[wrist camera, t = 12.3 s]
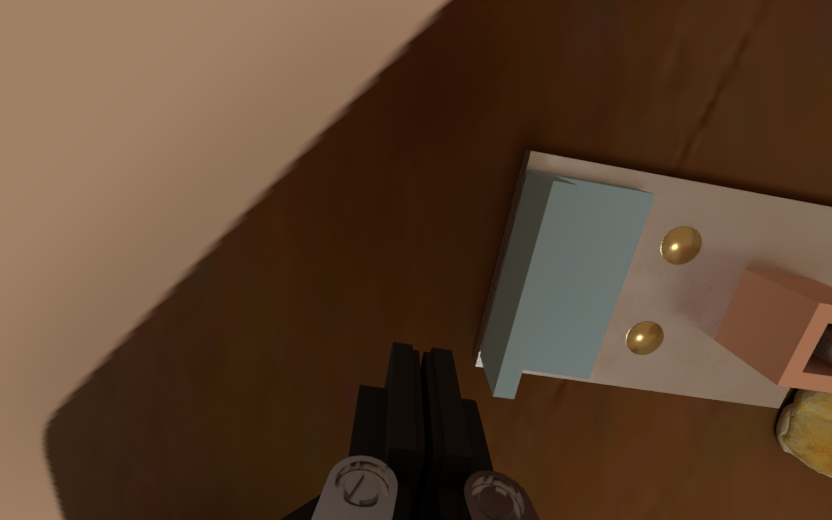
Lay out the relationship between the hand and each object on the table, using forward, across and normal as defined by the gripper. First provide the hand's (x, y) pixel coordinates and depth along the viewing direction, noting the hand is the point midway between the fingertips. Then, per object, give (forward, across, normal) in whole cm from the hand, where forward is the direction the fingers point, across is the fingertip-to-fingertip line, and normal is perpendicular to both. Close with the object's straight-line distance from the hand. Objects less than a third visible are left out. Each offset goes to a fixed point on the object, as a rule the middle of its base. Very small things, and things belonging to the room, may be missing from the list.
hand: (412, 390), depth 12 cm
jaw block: (+14, -24, +1) cm, 27 cm away
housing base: (+15, -17, +1) cm, 23 cm away
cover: (+14, -9, +1) cm, 17 cm away
